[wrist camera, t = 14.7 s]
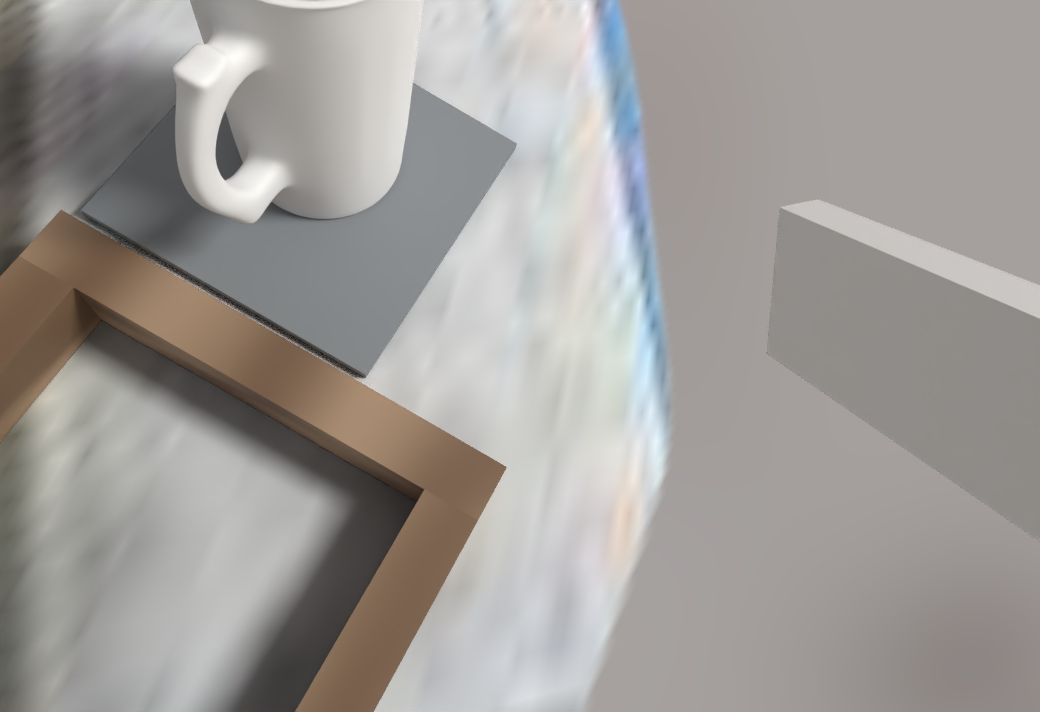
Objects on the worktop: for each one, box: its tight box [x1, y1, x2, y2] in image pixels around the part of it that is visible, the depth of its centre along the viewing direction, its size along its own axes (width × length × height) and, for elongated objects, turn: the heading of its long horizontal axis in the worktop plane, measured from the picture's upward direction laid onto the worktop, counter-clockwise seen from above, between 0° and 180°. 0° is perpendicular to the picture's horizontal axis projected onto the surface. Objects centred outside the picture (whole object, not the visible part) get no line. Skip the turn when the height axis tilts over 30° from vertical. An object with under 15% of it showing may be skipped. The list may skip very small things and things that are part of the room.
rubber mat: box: [81, 83, 517, 378], centre depth 31 cm, size 12×12×1 cm
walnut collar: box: [0, 210, 507, 712], centre depth 24 cm, size 17×17×3 cm
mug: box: [172, 0, 424, 224], centre depth 25 cm, size 10×7×12 cm, turn 153°
